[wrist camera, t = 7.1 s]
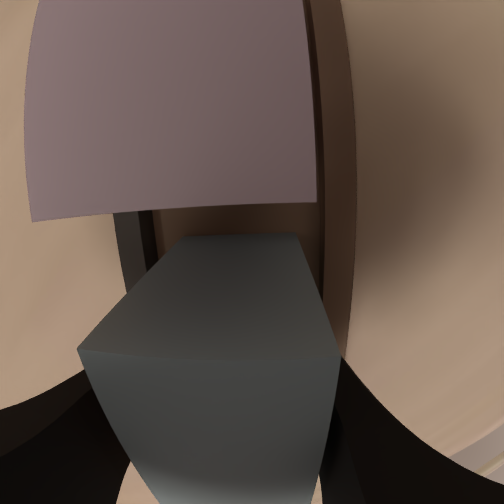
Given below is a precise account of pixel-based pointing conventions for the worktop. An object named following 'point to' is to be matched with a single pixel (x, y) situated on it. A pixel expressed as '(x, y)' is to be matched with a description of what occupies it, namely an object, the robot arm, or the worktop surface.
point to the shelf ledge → (283, 214)
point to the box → (167, 106)
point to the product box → (220, 372)
